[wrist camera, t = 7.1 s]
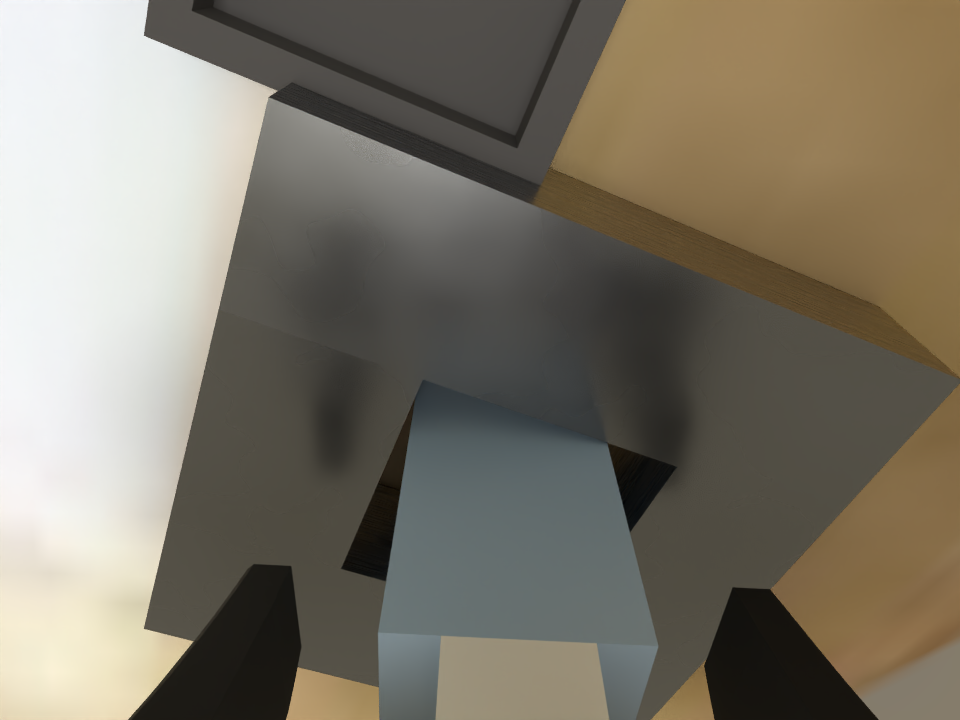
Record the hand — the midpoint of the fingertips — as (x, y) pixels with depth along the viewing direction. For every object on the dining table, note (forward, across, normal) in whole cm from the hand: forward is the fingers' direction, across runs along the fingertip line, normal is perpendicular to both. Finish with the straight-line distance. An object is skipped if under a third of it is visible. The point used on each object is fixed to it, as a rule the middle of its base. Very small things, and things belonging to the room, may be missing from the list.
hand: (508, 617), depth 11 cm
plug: (+5, 0, 0) cm, 5 cm away
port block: (+5, 0, 0) cm, 5 cm away
